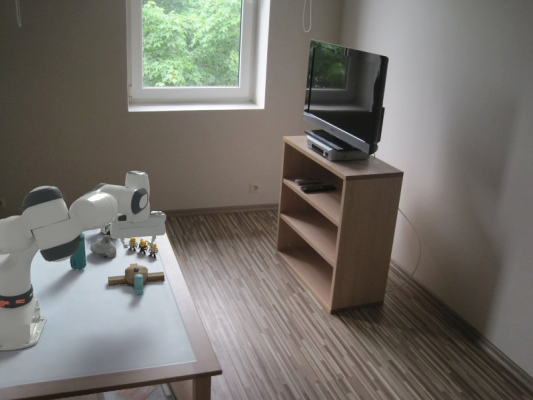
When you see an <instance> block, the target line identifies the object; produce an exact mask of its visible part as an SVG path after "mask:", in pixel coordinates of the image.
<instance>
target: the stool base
mask: <svg viewBox="0 0 533 400" xmlns="http://www.w3.org/2000/svg"><path fill="white" fill-rule="evenodd" d="M137 274H141V275H143V287H144V286H145V285H147V284H148V283H151V282H153V283H154V282H162V281H163V282H165V272H164V271H155V272H149V269H148V268H147V267H146V266H144V265H139V264H138V263H137V262H136V263H135V262H134V263H129V266H127V267H126V268H125V270H124V274H123V275H115V276H108V277H107V282H108V283H107V285H108V287H112V286H113V287H114V286H123V285H126V286H128V287H131V288H134V282H135V278H134V276H135V275H137Z"/></svg>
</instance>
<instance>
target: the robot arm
mask: <svg viewBox="0 0 533 400" xmlns="http://www.w3.org/2000/svg"><path fill="white" fill-rule="evenodd" d="M150 188H151V187H150V180H149V175H148V173H146V172H145V171H139V170H129V171H127V172H126V174H125V181H124V185H119V184H118V185H117V184H116V185H115V184H110V183H105V182H100V183H99V184H96V186H95V187H94V188H93V189H92V190H89V191H88V192H85V193H84V194H82V195H81V196H79V198H77V199H76V200H74V201H73V202H72V204H71V205H70V207H69V209H68V207H67V204H66V202H65V200H64V195H63V194H62V192H61V190H60V189H59V187H56V186H55V185H54V186H52V185H51V186H50V185H42V186H37V187H35V188H34V189H32V190H31V191H29V192H28V193H27V194H26V195H25V196H24V198H23V199H22V203H21V206H18V210H21V215H11V216H8V217H6V218H1V219H0V256H3V255H8V256H7V257H5V259H2V260H1V261H0V351H14V350H21V349H26V348H30V347H33V346H35V345H37V344H38V342H39V340H40V337H41V335H42V333H43V330H44V329H45V325H46V323H47V317H46V316H43V315H41V310H40V301H39V299H38V298H37V297H35V296H34V287H33V283H32V281H31V279H32V277H31V267H32V262H33V260H34V258H35V256H36V254H37V253H38V251H39V253H40V255H41V257H42V258H43V260H45V261H46V262H53V263H59V262H63V261H66V260H68V259H70V257H71V256H72V255H73V254H75V253H76V252H77V251H78V249H79V247H80V244H81V241H82V240H84V239H85V236H84V237H83V238H80V236H81V233H84V232H87V231H93V230H98V229H101V228H102V227H105V226H107V225H109V224H111V225H110V231H109V234H110V235H109V236H110V237H111V239H113V240H117V239H120V242H121V244H122V245H123V249H129V246H128V245H129V243H128V242H126V241H125V239H129V238H130V239H131V238H144V237H146V238H147V237H151V240H148V242H149V245H148V247H150V246H153V244H154V243H155V241H156V239H157V236H158V237H159V236H165V234H166V231H167V230H166V224H165V222H166V220H167V214H166V213H165V212H163V211H162V210H161V211H160V210H159V211H151V204H150V200H149V199H150V196H151V195H150V194H151V193H150V192H151V190H150Z"/></svg>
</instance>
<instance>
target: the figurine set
mask: <svg viewBox="0 0 533 400" xmlns="http://www.w3.org/2000/svg"><path fill="white" fill-rule="evenodd" d="M136 239H137V238H136V237H133V238H130V239H129V240H128V248H127V249H128V251H131V250H133V252H137V250H139V251H138V252H137V253H138V254H142V253H143V255H144V256H145V255H147V253H149V254H148V257H153V259H156V258H157V256H158V253H159V248H157V244H156V243H153V246H149V240H147V239H146V240H144V238H140V240H139V241H140V242H139V244H138V242H137V240H136ZM136 249H137V250H136Z"/></svg>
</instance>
